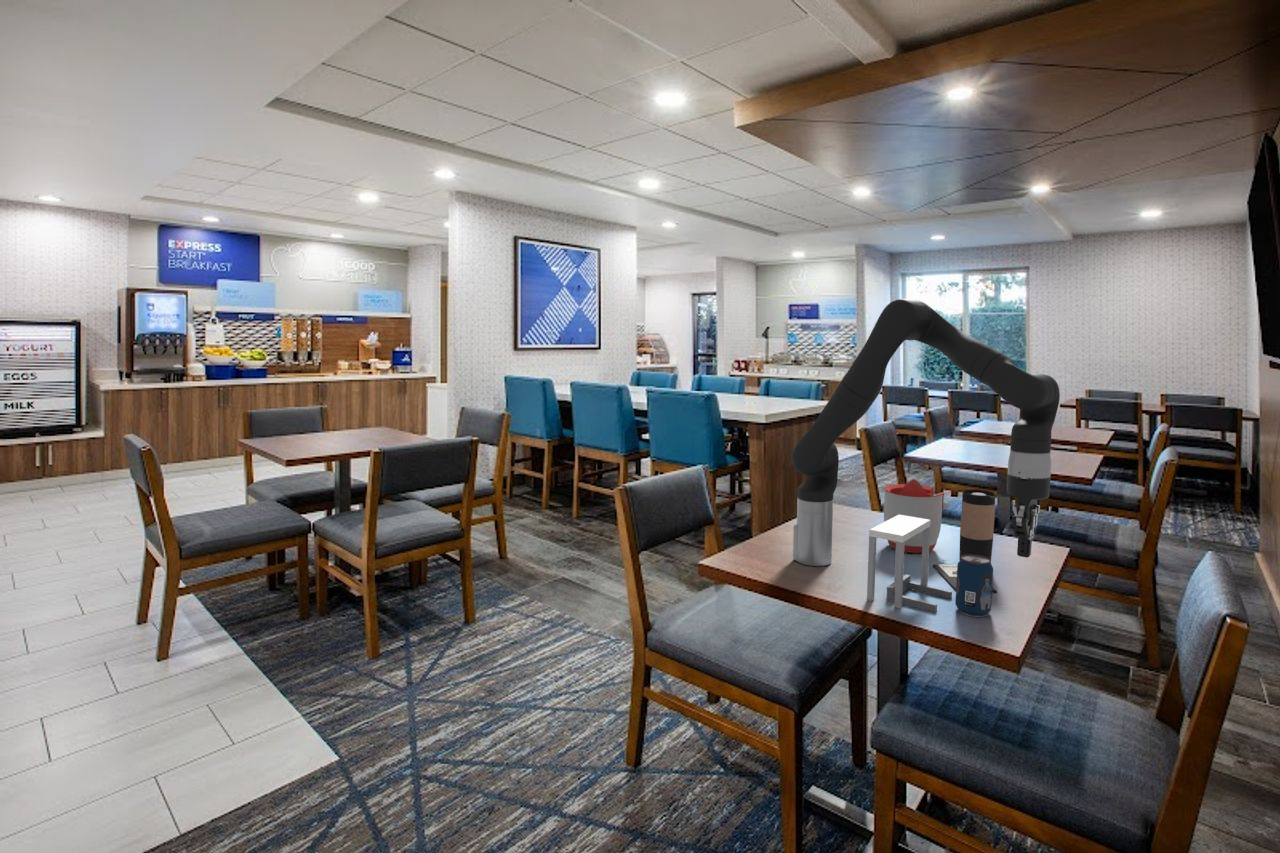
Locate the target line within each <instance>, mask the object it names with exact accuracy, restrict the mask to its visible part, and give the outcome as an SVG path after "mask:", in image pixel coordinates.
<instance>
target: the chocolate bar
mask: <svg viewBox="0 0 1280 853" xmlns="http://www.w3.org/2000/svg"><path fill="white" fill-rule="evenodd" d="M931 566H932V567H933V569H934V568H935V569H936V570H937V571H938V572H937V571H936V570H935V569H934V570H935V571H936V572H937V573H938V574H939V575H940V576H941V577H942V578H943V579H944V580H945V581H946V583H948V585H949V586H950V587H951V588H952V589H953V590H954V591H955V592H956V582H957V564H944V563H943V564H941V563H940V564H939V563H936V564H935V563H933V564H931ZM997 593H998V590H997V589H996V588H994V587H993V586H992V594H997Z"/></svg>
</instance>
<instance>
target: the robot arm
mask: <svg viewBox="0 0 1280 853" xmlns="http://www.w3.org/2000/svg"><path fill="white" fill-rule="evenodd" d="M904 341H916V342H920V343H922V344H925V345H928V346H930V347H932V348H933V349H936V350H937V351H938V352H940V353H942V354H944V355H945V357H947V359H948V360H950V361H951V363H953V364H954V365H955V366H956V367H957V368H958V369H960V370H961V371H963V372H964V373H965V374H967V375H968V376H970V377H972V378H973V379H976V380H977V381H979V382H981V384H984V385H985V386H987V387H989V388H990V389H991V390H992V391H993V392H994V393H996V394H997V395H998V396H999V397H1000V398H1001V399H1002V400H1004V401H1005V402H1006V403H1007V404H1009V405H1011V406H1013V407H1015V408H1016V409H1019V410H1020V413H1019V419H1018V420H1017V421H1016V422H1015V423H1014V424H1013V426H1012V427H1011V431H1010V448H1009V455H1008V460H1007V462H1008V463H1007V478H1006V494H1007V495H1008V496H1010V497H1014V498H1016V500H1017V501H1016V504H1014V506H1013V514H1014V515H1013V516H1012V517H1011V523H1012V529H1013V534H1014V535H1013V536H1014V537H1015V538H1016V539H1017V549H1016V552H1017V553H1016V554H1017V556H1018V557H1022V558H1029V557H1030V556H1031V555H1032V542H1033V539H1034V536H1035V534H1036V532H1037V526H1038V521H1039V517H1040V512H1041V506H1040V505H1038V500H1040V501H1041V500H1045V499H1048V498H1049V497H1050V490H1051V474H1052V472H1051V471H1052V457H1051V451H1052V450H1051V448H1052V430H1053V426H1054V424H1055V420H1056V416H1057V412H1058V410H1059V409H1058V408H1059V405H1060V397H1061V396H1060V395H1061V392H1060V387H1059V384H1058V382H1057V380H1056V379H1055V378H1053V377H1052V376H1051V375H1049V374H1045V373H1034V374H1031V373H1029V372H1026V371H1024V370H1023V369H1022V368H1020V367H1018V366H1017V365H1016V364H1015V361H1014V360H1013V359H1012V358H1010V357H1009V356H1007V355H1006V354H1004V353H1002V351H1001V352H1000V351H999V350H997V349H995V348H993V347H992V346H990V345H988V344H985V343H984V342H983V341H980V340H978V339H976V337H975V338H974V337H973V336H971V335H969V334H967V333H966V332H964V331H962V330H961V329H959V328H958V327H957V326H955V325H953V324H952V323H951V322H949V321H948V320H946V318H944V317H942V315H940V314H939V313H938V312H937V311H936V310H934V309H933V308H932V307H931V306H929V305H928V303H926V302H924V301H921V300H917V299H910V298H899V299H895V300H892V301H890V303H888V304H887V305H886V306H885V307H884V309H883V310H882V312H881V313H880V315H879V317H878V318H877V320H876V323H875V324H874V326H873V328H872V331H871V332H870V334H869V336H868V338H867V339H866V342H865V343H864V345H863V347H862V348H861V350H860V352H859V354H858V355H857V357H856V358H855V359H854V361H853V363H852V365H851V366H850V368H849V369H848V370H847V372H846V373H845V375H844V376H843V377H842V378H841V381H840V382H839V383H838V385H837V387H836V388H835V390H834V392H833V394H831V396H830V398H829V400H828V401H827V403H826V404H825V406H824V407H823V409H822V410H821V412H820V414H819V415H818V417H817V418H816V420H815V421H814V422H813V424H812V425H811V426H810V428H809V429H808V430H807V431H806V433H805V434H804V435H803V436H802V437H801V438H800V440H799V441H798V442H797V443H796V445H795V446H794V448H793V451H792V455H791V461H792V462H791V463H792V465H793V468H794V469H795V471H797V472H798V473H799V474H802V475H805V476H806V477H805V480H804V481H803V482H802V483H801V484H800V485H799V486H798V488H797V499H796V500H797V505H796V524H794V525H793V536H792V537H793V538H792V541H793V543H792V547H793V548H792V560H793V561H796V562H798V563H799V564H802V565H804V566H805V565H806V566H811V567H825V566H828V565H831V563H832V558H833V557H832V556H833V553H832V551H833V548H832V547H833V520H834V494H835V491H836V489H837V485H838V475H839V474H838V473H839V465H840V464H839V458H840V457H839V451H838V447H837V446H836V444H835V442H836V441H837V440H838V439H839V438H840V436H841V435H842V434H843V433H845V432H846V431H847V430H848V429H850V428H851V427H852V426H853V425H855V424H856V423H857V422H858V421H859V420H860V419H861V418H862V417H864V416H865V414H866V413H867V412H868V411H869V410H870V408H871V406H872V405H873V403H874V402H875V401H876V399H877V398H878V396H879V395H880V392H881V390H882V389H883V388H882V387H883V385H884V380H885V375H886V370H887V366H888V365H889V362H890V360H891V358H892V357H893V356H894V355H895V353H896V352H897V350H898V349H899V348H900V347H901V345H902V344H903V343H904Z"/></svg>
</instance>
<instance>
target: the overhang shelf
mask: <svg viewBox="0 0 1280 853" xmlns="http://www.w3.org/2000/svg"><path fill="white" fill-rule="evenodd" d="M930 523H931V520H929V519H923V518H917V517H911V516H905V515H897V516H895V517H893V518H891V519H889V520H887V521H885V522H884V521H883V522H881V523H879V524H877V525H876V526H874V527H872V528H870V529H869V534H868V535H869V536H868V559H867V560H868V561H867V586H866V589H867V590H866V592H867V593H866V601H869V600H870V602H873V601H875V593H876V592H875V590H876V588H875V586H876V583H875V582H876V562H877V561H876V558H877V538H879V539H882V540H887V541H888V540H892V541H896V549H895V552H894V553H895V554H894V555H895V556H894V558H895V560H894V578H893V580H894V582H892V583H891V584H889V585H888V586H886V600H887V601H890V602H894V608H897V609H901V608H902V607H903V605H906V606H911V607H914V608H918V609H922V610H926V611H930V612H933V613H936V612H937V611H938V604H937V603H934V602H930V601H927V600H922V599H918V598H913V597H910V596H907V595H903V594H904V593H905V592H906V591H907V590H913V591H916V592H921V593H925V594H928V595H929V594H930V595H933V596H937V597H941V598H946V599H949V600H950V599H952V598H953V591H952V590H949V589H944V588H941V587H940V588H939V587H936V586H931V585H928V584H929V583H928V582H929V580H928V578H929V565H930V564H929V560H930V559H929V558H930V552H929V544H930ZM921 531H923V544H922V553H921V568H920V569H921V570H920V583H919V582H915V581H911V574H907V573H905V574H904V569H905V568H904V566H905V553H904V547H905V541H906V540H908V539H909V538H911V537H913V536H914V535H916V534H918V533H920V532H921Z"/></svg>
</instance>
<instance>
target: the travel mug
mask: <svg viewBox="0 0 1280 853" xmlns="http://www.w3.org/2000/svg"><path fill="white" fill-rule="evenodd" d="M995 508H996V493H995V492H993V491H989V490H984V489H964V490H963V491H962V496H961V512H960V514H961V516H960V529H959V559H958V560H959V561H960V559H961V556H962V555H967V554H973V555H980V556H984V557H987V558H989V559H990V560H991V562H990V563H991V564H992V556H993V547H994V546H993V545H994V534H995V533H994V532H995V513H996V512H995ZM959 561H958V562H959Z"/></svg>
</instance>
